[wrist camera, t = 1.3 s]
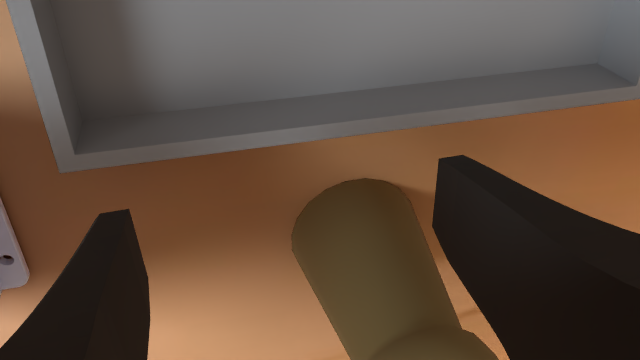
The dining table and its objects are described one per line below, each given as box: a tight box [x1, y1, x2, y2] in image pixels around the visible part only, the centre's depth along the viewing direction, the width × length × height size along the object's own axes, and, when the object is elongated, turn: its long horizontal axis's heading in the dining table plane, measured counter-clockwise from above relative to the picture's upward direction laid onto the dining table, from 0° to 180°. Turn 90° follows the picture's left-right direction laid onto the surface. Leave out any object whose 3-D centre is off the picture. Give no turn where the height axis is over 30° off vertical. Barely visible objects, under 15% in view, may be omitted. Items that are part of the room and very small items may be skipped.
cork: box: [292, 178, 498, 360], centre depth 22 cm, size 6×6×11 cm
